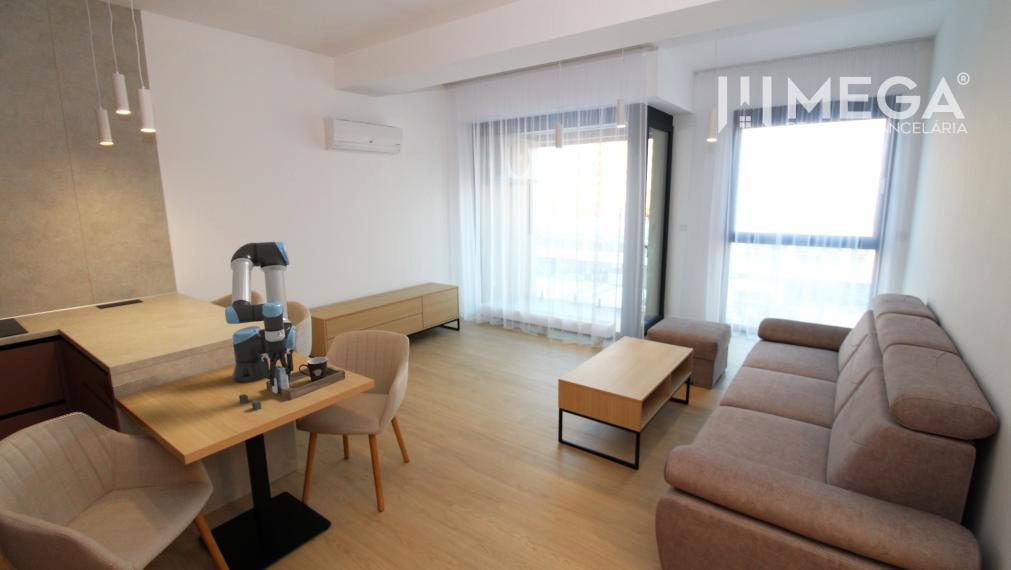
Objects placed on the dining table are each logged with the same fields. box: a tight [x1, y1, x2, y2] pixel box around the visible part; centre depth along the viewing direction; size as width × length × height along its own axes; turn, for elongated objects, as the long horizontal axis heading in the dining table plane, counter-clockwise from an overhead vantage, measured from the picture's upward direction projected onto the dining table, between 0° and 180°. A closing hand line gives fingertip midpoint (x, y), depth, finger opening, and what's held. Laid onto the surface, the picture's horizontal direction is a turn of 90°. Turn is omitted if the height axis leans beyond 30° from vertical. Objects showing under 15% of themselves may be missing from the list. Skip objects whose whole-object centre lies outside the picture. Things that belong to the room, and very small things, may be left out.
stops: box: [238, 393, 262, 411], centre depth 196 cm, size 13×2×3 cm, turn 56°
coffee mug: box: [298, 356, 328, 383], centre depth 220 cm, size 12×9×10 cm
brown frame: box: [265, 364, 346, 400], centre depth 216 cm, size 18×28×12 cm
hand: (281, 390), depth 207 cm, fingers open, 4 cm apart
